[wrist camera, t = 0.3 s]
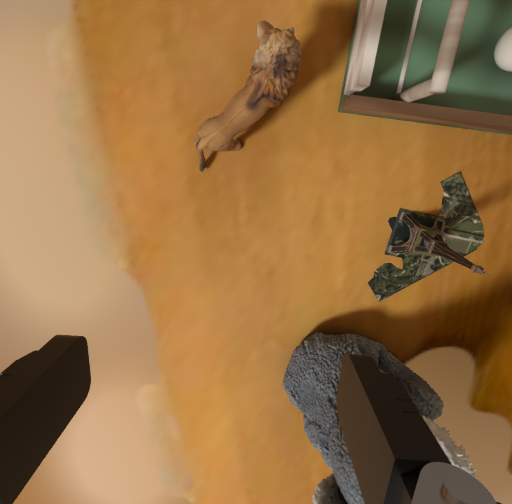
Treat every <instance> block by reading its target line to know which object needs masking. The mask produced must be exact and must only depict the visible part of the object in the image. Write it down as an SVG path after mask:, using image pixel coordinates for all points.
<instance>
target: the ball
mask: <svg viewBox="0 0 512 504" xmlns="http://www.w3.org/2000/svg"><path fill="white" fill-rule="evenodd" d="M494 59H495V62H496V64H497V65H498V67H500V68H501V69H503V70H505V71H510V72H512V27H511V28H509V29H508V30H507V31H506V32H505V33H504V34H503V35H502V36H501V37H500V39H499V40H498V42H497V44H496V47H495V50H494Z"/></svg>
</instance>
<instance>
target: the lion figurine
mask: <svg viewBox="0 0 512 504" xmlns="http://www.w3.org/2000/svg"><path fill="white" fill-rule="evenodd" d="M257 28H258V30H257V36H258V38H259V40H260V42H259V45H260V47H259V48H258V49H257V51H256V54H255V55H254V58H253V59H254V62H253V66H252V68H251V75H250V76H249V77H248V79H247V81H246V86H245V87H244V88H243V89H241V90H240V91H239V92H238V93H237V94H236V95H235V96H234V97H233V99H232V100H231V101H230V103H229V104H228V105H227V107H226V108H225V110H224V111H223V112H222V113H221V114H220V115H218V116H216V117H213V118H209V119H208V120H206V121H205V122H204V123H203V124H202V125H201V126H200V128H199V130H198V136H197V137H196V138H195V139H194V141H193V143H194V145H195V147H196V148H197V153H198V155H199V157H200V161H201V163H200V171H201V172H203V170H204V168H205V166H206V162H205V158H204V154H203V149H204V148H209V149H211V150H214V151H218V152H223V151H224V152H227V151H237V150H240V149H241V147H242V144H241V142H240V141H239V140H238V139H236V140H233V138H234V136H235V135H237V134H238V133H240V132H241V131H243V130H245V129H247V128H249V127H250V126H251V125H252V124H254V123H255V122H257V121H258V120H259V119H260V118H261V117H262V116H263V115H264V114H265V113H266V112H267V111H268V109H269V108H278V107H279V106H280V104H281V102H282V101H284V100H285V99H286V98H287V96H288V94H289V93H290V90H291V89H292V88H293V86H294V82H295V79H296V77H297V73H298V65H299V64H300V62H301V55H302V54H301V51H300V42H299V40H297V39H296V38H295V36H294V28H293V27H290V28H289V29H287V30H285V29H284V30H282V31H281V30H280V29H278V28H273V26H272V25H271V24H270V23H268V22H266V21H261V22H259V23H258V26H257Z"/></svg>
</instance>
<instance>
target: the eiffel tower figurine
mask: <svg viewBox="0 0 512 504" xmlns="http://www.w3.org/2000/svg"><path fill="white" fill-rule="evenodd" d="M440 183H441V185H442V187H443V189H444V194H443V198H442V206H441V209H440V214H439V215H438V216H435V215H431V214H426V213H421V212H417V211H412V210H407V209H403V208H400V209H399V212H398V215H397V218H396V217H392V218H390V219H389V221H388V222H389V224H390V226H391V229H392V233H391V236H390V239H389V242H388V245H387V248H386V251H385V254H386V255H391V256H396V257H401V258H402V260H403V270H402V269H399V268H397V267H396V266H394V265H393V264H391V263H385V264H383V265H382V266H381V267H379V268H378V269H376V270H375V272H374V277H373V278H372V279H371V280H370V281H369V282H368V284H369V286H370V287H371V289H372V290H373V292H374V294H375V295H376V297H377V299H378V300H379V301H381V300H383V299H385V298H387V297H389V296H391V295H393V294H394V293H396V292H398V291H400V290H402V289H404V288H406V287H407V286H409V285H411V284H413V283H415V282H417V281H419V280H421V279H423V278H424V277H426V276H428V275H430V274H432V273H434V272H436V271H438V270H439V269H441V268H443V267H445V266H447V265H449V264H451V263H453V262H456V263H458V264H461V265H463V266H465V267H468V268H470V269H472V270H473V272H476V273H480V274H482V273H485V272H483V269H484V268H482V267H481V266H477V265H475V264H473V263H472V262H470V261H468V260H467V259H465V258H464V256H466V255H467V254H469V253H471V252H473V251H475V250H476V249H477V248H478V246H479V245H481V244H482V243H483V237H484V231H483V224H482V222H481V220H480V218H479V215H478V213H477V211H476V208H475V206H474V204H473V201H472V199H471V197H470V195H469V192H468V190H467V188H466V186H465V183H464V181H463V179H462V176H461V174H460V172H459V173H457V174H455V175H453V176H451V177H449V178H447V179H445V180H443V181H441V182H440ZM485 274H486V275H488V274H487V273H485ZM488 276H490V275H488Z"/></svg>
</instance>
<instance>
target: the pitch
mask: <svg viewBox="0 0 512 504" xmlns="http://www.w3.org/2000/svg"><path fill="white" fill-rule="evenodd" d="M511 27H512V0H358V5H357V10H356V16H355V21H354V27H353V32H352V38H351V43H350V49H349V54H348V60H347V65H346V71H345V76H344V82H343V87H342V93H341V98H340V104H339V109H338V112H344V113H351V114H359V115H366V116H374V117H382V118H389V119H397V120H404V121H412V122H420V123H427V124H435V125H442V126H450V127H458V128H465V129H473V130H481V131H488V132H496V133H503V134H511V135H512V72H510V71H505V70H503V69H501V68H500V67H498V65H497V64H496V62H495V59H494V50H495V47H496V44H497V42H498V40H499V39H500V37H501V36H502V35H503V34H504V33H505V32H506V31H507V30H508V29H509V28H511Z"/></svg>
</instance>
